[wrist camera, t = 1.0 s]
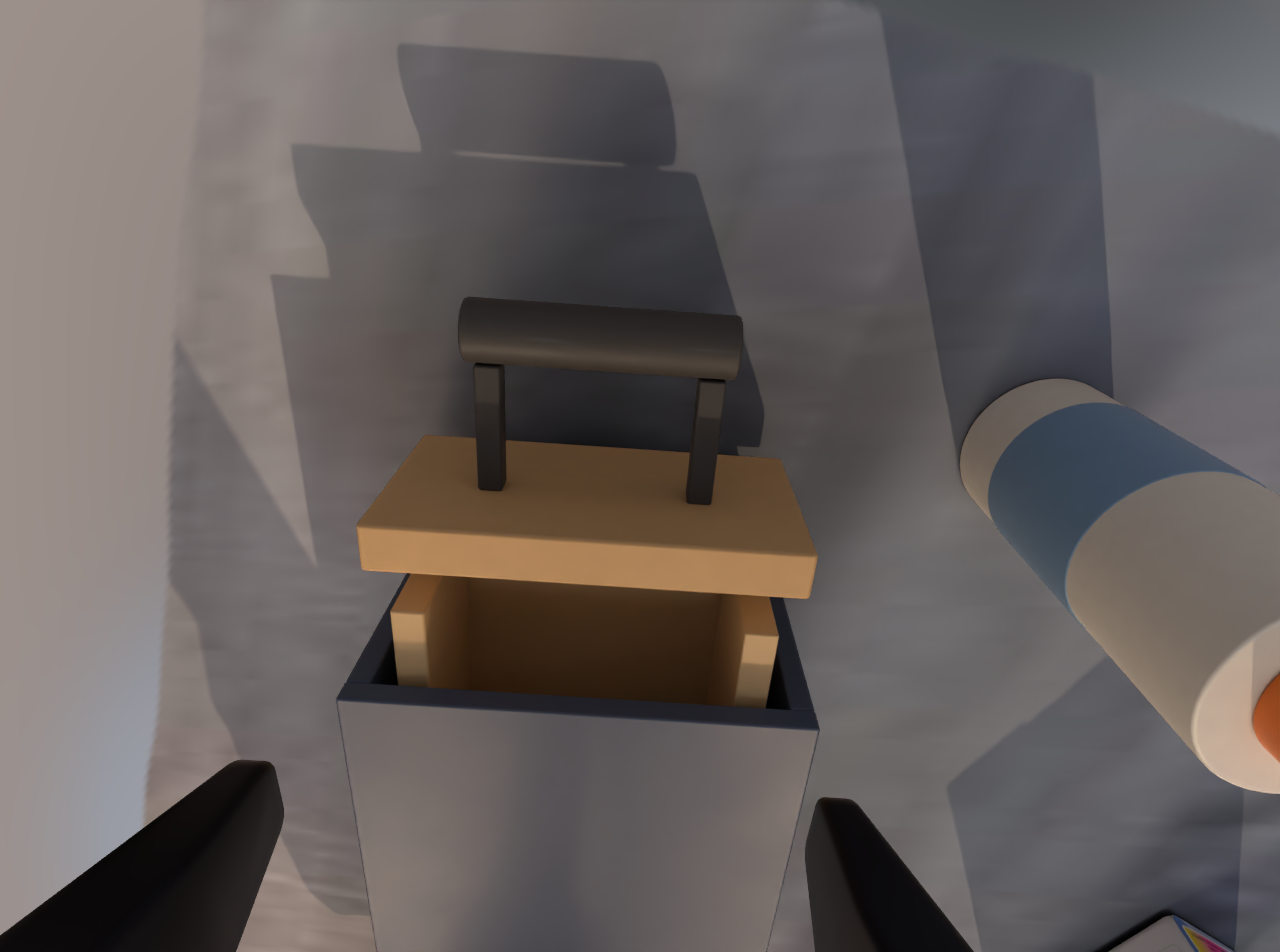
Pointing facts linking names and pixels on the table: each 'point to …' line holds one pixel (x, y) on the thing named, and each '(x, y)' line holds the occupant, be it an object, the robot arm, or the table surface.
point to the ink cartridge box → (1171, 939)
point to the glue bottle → (1146, 559)
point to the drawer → (590, 529)
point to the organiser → (573, 812)
